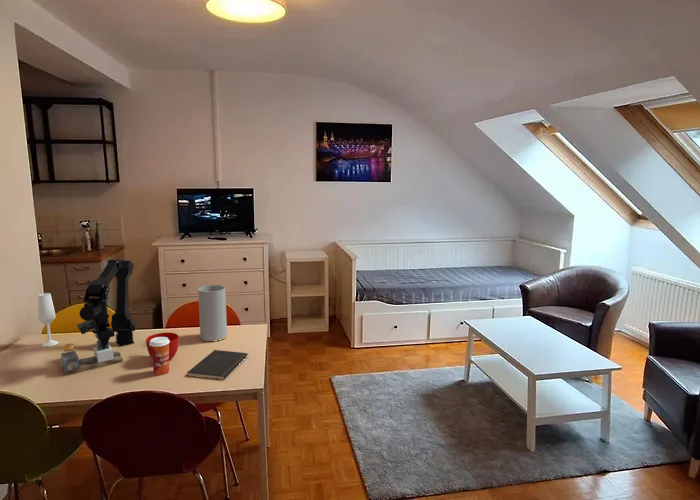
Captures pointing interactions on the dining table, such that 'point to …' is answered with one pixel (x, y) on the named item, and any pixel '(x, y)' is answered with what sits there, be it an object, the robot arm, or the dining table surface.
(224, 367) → the hardcover book
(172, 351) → the ceramic cup
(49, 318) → the champagne flute
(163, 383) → the dining table surface
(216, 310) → the cylinder vase
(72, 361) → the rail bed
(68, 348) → the button
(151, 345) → the paper cup
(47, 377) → the dining table surface
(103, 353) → the carriage
